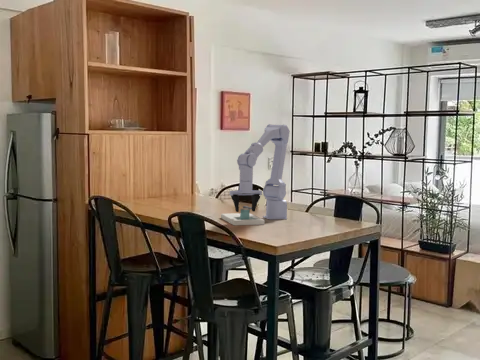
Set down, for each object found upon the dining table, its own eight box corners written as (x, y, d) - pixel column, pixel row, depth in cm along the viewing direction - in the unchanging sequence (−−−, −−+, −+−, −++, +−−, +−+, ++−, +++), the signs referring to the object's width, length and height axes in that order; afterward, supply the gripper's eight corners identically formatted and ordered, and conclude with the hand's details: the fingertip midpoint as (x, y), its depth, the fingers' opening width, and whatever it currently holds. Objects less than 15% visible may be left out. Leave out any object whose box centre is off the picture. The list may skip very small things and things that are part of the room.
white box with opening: (249, 217, 256) (249, 203, 255) (264, 224, 237) (264, 209, 236) (220, 217, 252) (221, 204, 251) (233, 225, 233) (234, 210, 232)
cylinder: (247, 221, 243) (247, 208, 243) (250, 223, 239) (250, 209, 239) (239, 221, 242) (239, 208, 241) (241, 223, 238) (242, 209, 238)
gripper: (258, 179, 245) (257, 209, 246) (227, 180, 240) (226, 210, 241) (263, 181, 238) (263, 212, 240) (232, 181, 234) (231, 212, 235)
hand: (245, 211), depth 240 cm, fingers open, 7 cm apart
